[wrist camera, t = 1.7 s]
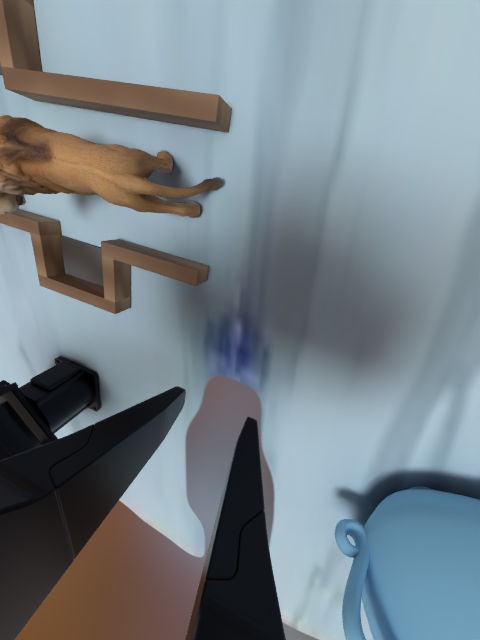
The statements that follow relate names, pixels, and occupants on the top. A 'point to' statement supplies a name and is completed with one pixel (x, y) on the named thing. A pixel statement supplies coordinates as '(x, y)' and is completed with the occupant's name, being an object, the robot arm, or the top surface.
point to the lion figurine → (84, 170)
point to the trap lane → (107, 96)
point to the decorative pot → (414, 568)
